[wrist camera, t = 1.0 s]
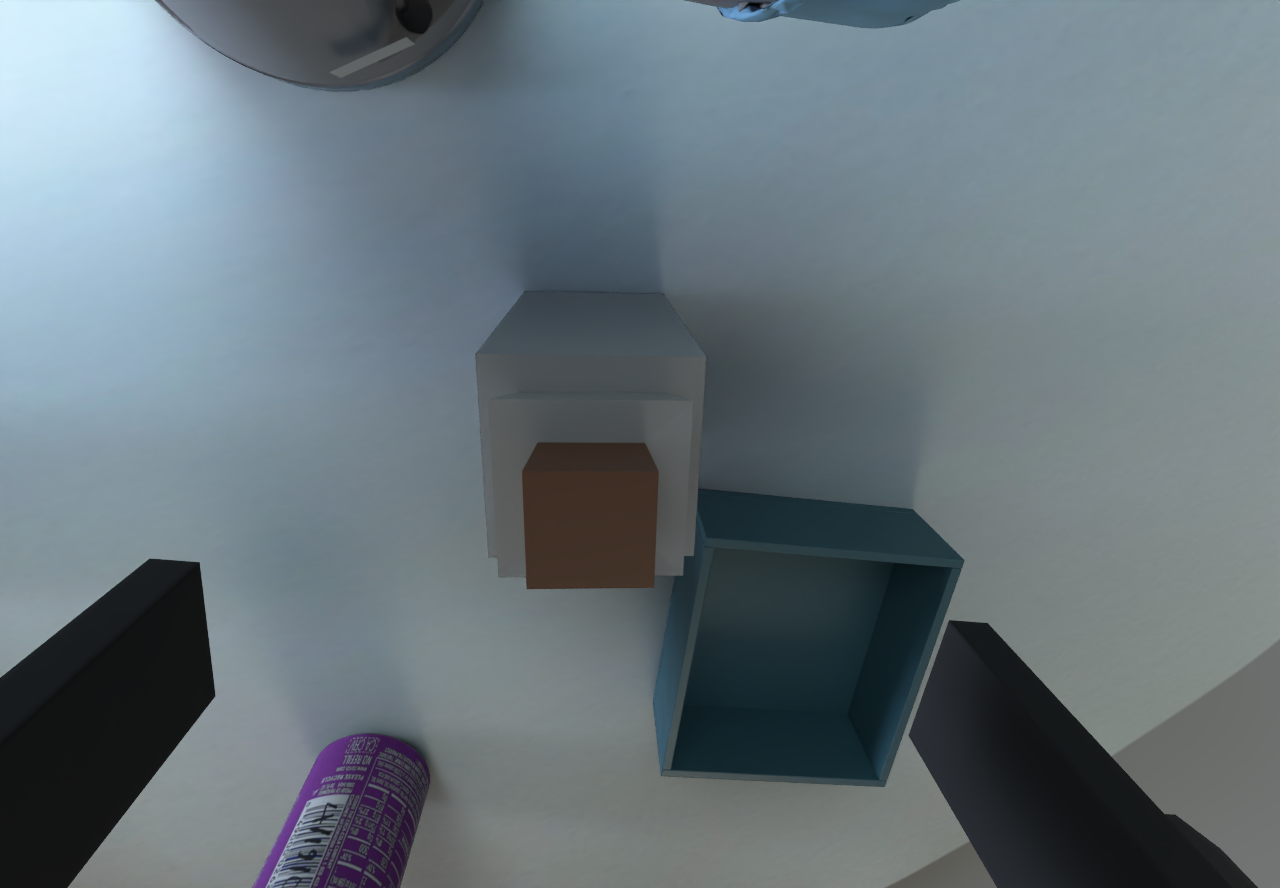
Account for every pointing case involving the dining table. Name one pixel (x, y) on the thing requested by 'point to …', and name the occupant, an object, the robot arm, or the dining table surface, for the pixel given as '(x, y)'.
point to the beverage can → (351, 818)
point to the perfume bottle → (590, 439)
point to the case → (798, 639)
